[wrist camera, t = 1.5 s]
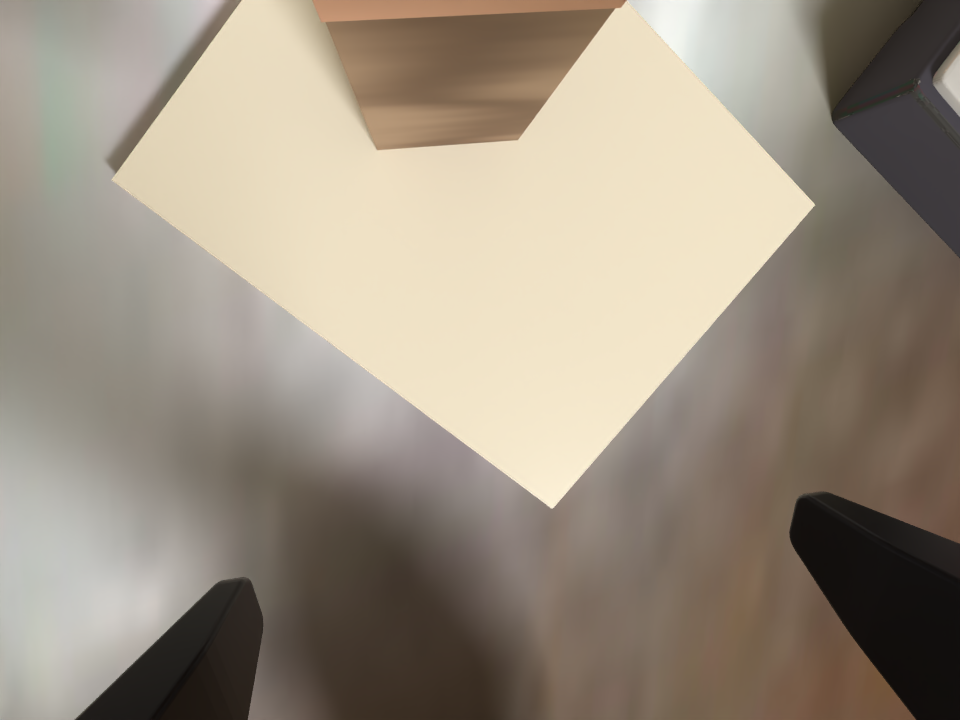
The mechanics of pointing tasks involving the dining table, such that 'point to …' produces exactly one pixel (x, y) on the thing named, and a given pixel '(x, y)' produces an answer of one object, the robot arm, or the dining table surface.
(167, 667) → the robot arm
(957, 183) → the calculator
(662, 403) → the dining table surface
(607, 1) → the walnut block
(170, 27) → the dining table surface
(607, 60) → the placemat
